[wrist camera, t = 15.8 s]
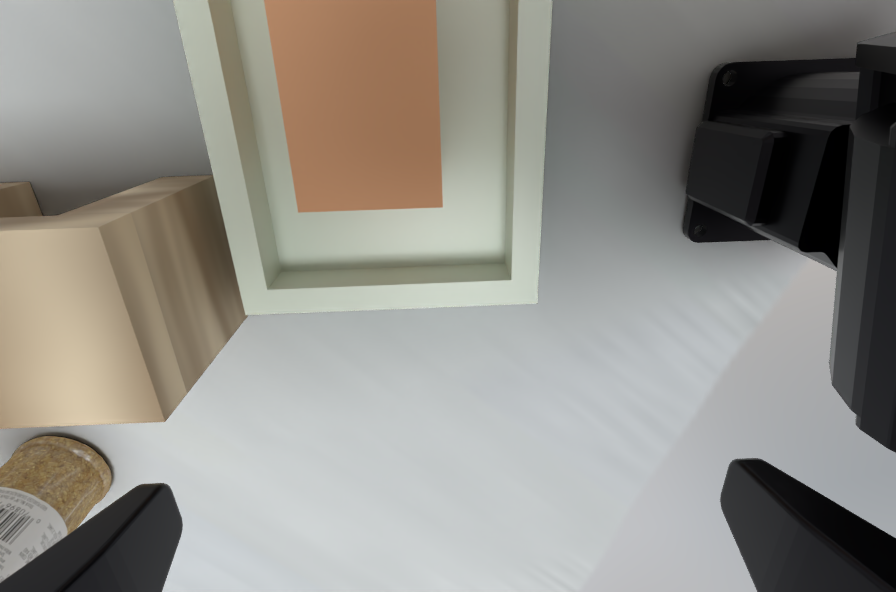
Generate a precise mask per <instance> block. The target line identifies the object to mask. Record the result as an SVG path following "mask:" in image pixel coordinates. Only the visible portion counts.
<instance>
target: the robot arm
mask: <svg viewBox="0 0 896 592" xmlns="http://www.w3.org/2000/svg"><path fill="white" fill-rule="evenodd" d="M727 71H729V72H730V74H731V79H730V81H729V83H728V84H727V85H724V84H723V76H724V74H725V73H726V72H727ZM686 194H687V195H688V196H689V199H688V204H687V210H686V216H685V221H684V227H683V233H684V235H685V237H687V238H688V239H690V240H691V241H693V242H697V243H702V242H728V241H754V240H773V241H775V242H777V243H779V244H781V245H783V246H786V247H788V248H790V249H792V250H794V251H796V252H798V253H800V254H802V255H804V256H806V257H808V258H810V259H813V260H815V261H817V262H819V263H821V264H823V265H825V266H827V267H829V268H831V269H833V270H835V271H837V278H836V290H835V302H834V313H833V325H832V326H833V327H832V338H831V348H830V349H831V350H830V360H829V361H830V362H829V364H830V373H831V380H832V386H833V387H834V388H835V389H836V391H837V392H838V393H839V395H840V396H841V397H842V399H843V400H844V401H845V403H846V404H847V405H848V407H849V408H850V409H851V410H852V411H853V412H854V413H855V414H856V425H857V426H858V427H859V429H860V430H862V431H863V432H865V433H866V434H868V435H869V436H870V437H872V438H874V439H875V440H876V441H878V442H879V443H881V444H882V445H883V446H885V447H886V448H888V449H890V450H892V451H894V452H896V32H894V33H890V34H886V35H883V36H879V37H875V38H872V39H868V40H864V41H861V42H858V43H857V51H856V58H846V59H817V60H788V61H759V62H731V63H723V64H720V65H719V66H717V67H716V68H715V69H714V71H713V72H712V74H711V77H710V80H709V86H708V91H707V97H706V103H705V108H704V114H703V120H702V123H701V124H700V125H699V126H698V127H697V130H696V135H695V141H694V147H693V153H692V158H691V164H690V170H689V176H688V181H687V187H686ZM701 224H702V229H701V231H700V232H698V233H696V234H694V230H695V228H696V227H697V226H698V225H701ZM720 502H721V507H722V511H723V514H724V516H725V518H726V521H727V523H728V525H729V527H730V530H731V532H732V534H733V537H734V539H735V541H736V543H737V546H738V548H739V550H740V553H741V555H742V557H743V560H744V562H745V564H746V566H747V569H748V571H749V573H750V576H751V578H752V580H753V583H754V585H755V587H756V590H757V592H896V538H894V537H892V536H891V535H889V534H887V533H886V532H884V531H882V530H880V529H879V528H877V527H876V526H874V525H872V524H871V523H869V522H867V521H866V520H864V519H862V518H860V517H859V516H857V515H855V514H854V513H852V512H850V511H849V510H847V509H845V508H844V507H842V506H840V505H838V504H837V503H835V502H833V501H831V500H830V499H828V498H827V497H825V496H823V495H822V494H820V493H818V492H816V491H815V490H813V489H811V488H810V487H808V486H806V485H805V484H803V483H801V482H800V481H798V480H796V479H794V478H793V477H791V476H789V475H788V474H786V473H784V472H783V471H781V470H779V469H777V468H776V467H774V466H772V465H771V464H769V463H767V462H766V461H763V460H762V459H758V458H746V459H735V460H733V461H732V462H731V463H730V464H729V467H728V471H727V474H726V478H725V481H724V485H723V489H722V492H721V499H720ZM182 526H183V524H182V517H181V515H180V512H179V509H178V506H177V504H176V501H175V498H174V495H173V492H172V490H171V488H170V487H169V486H168V485H167V484H164V483H155V484H142V485H139V486H136V487H135V488H133V489H132V490H130V491H129V492H128V493H126V494H125V495H123V496H122V497H121V498H119V499H118V500H116V501H115V502H113V503H112V504H111V505H109V506H108V507H106V508H105V509H104V510H102V511H101V512H99V513H98V514H96V515H95V516H94V517H92V518H91V519H89V520H88V521H87V522H85V523H84V524H82V525H81V526H80V527H78V528H77V529H75V530H74V531H72V532H71V533H70V534H68V535H67V536H65V537H64V538H63V539H61V540H60V541H58V542H57V543H55V544H54V545H53V546H51V547H50V548H48V549H47V550H46V551H44V552H43V553H41V554H40V555H39V556H37V557H36V558H34V559H33V560H31V561H30V562H29V563H27V564H26V565H24V566H23V567H22V568H20V569H19V570H17V571H16V572H14V573H13V574H12V575H10V576H9V577H7V578H6V579H5V580H3V581H2V582H0V592H162V590H163V587H164V584H165V581H166V578H167V575H168V572H169V569H170V566H171V564H172V561H173V558H174V555H175V552H176V549H177V546H178V543H179V540H180V537H181V534H182Z"/></svg>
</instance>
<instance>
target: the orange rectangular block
mask: <svg viewBox="0 0 896 592" xmlns="http://www.w3.org/2000/svg"><path fill="white" fill-rule="evenodd" d="M264 4H265V10H266V16H267V22H268V28H269V35H270V41H271V47H272V53H273V59H274V66H275V72H276V78H277V84H278V90H279V97H280V103H281V109H282V115H283V122H284V128H285V134H286V140H287V146H288V153H289V159H290V165H291V171H292V177H293V184H294V190H295V196H296V202H297V208H298V213H300V212H328V211H356V210H384V209H413V208H441V207H443V195H442V166H441V137H440V107H439V78H438V49H437V19H436V0H264Z"/></svg>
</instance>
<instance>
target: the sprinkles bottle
mask: <svg viewBox="0 0 896 592" xmlns="http://www.w3.org/2000/svg"><path fill="white" fill-rule="evenodd" d="M110 485H111V471H110V469H109V467H108V465H107V464H106V463H105V461H104V460H103V458H102V457H101V456H100V455H98V454H97V453H96V452H95V451H94V450H93V449H92V448H90V447H89V446H87V445H85V444H82V443H80V442H78V441H75V440H72V439H68V438H64V437H56V436H43V437H38V438H35V439H32V440H30V441H28V442H26V443H24V444H22V445H21V446H20V447H18V448H17V450H16V451H15V452H14V453H13V455H12V457H11V459H10V460H9V461H8V462H7V463H5V464H4V465H3V466H2V467H1V468H0V582H2V581H3V580H5V579H6V578H7V577H9V576H10V575H12V574H13V573H14V572H16V571H17V570H19V569H20V568H22V567H23V566H24V565H26V564H27V563H29V562H30V561H31V560H33V559H34V558H36V557H37V556H39V555H40V554H41V553H43V552H44V551H46V550H47V549H48V548H50V547H51V546H53V545H54V544H55V543H57V542H58V541H60V540H61V539H63V538H64V537H65V536H67V535H68V534H70V533H71V532H72V531H74V530H75V529H76V528H77V527H78V526H79V525H80V524H81V522H82V521H83V520H84V518H85V517H86V516H87V514H88V513H89V512H90V510H91V509H92V508H93V506H94V505H95V504H97V503H98V502H100V501H101V500H102V499H103V498H104V497H105V495H106V493H107V492H108V491H109V489H110Z"/></svg>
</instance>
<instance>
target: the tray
mask: <svg viewBox="0 0 896 592" xmlns="http://www.w3.org/2000/svg"><path fill="white" fill-rule="evenodd" d="M173 4H174V8H175V12H176V17H177V21H178V25H179V30H180V34H181V38H182V43H183V47H184V51H185V56H186V60H187V64H188V69H189V73H190V77H191V82H192V86H193V90H194V95H195V99H196V103H197V108H198V112H199V116H200V121H201V125H202V129H203V134H204V138H205V142H206V147H207V151H208V155H209V160H210V164H211V168H212V173H213V177H214V181H215V186H216V190H217V194H218V199H219V203H220V207H221V212H222V216H223V220H224V225H225V229H226V233H227V238H228V242H229V246H230V251H231V255H232V259H233V264H234V268H235V272H236V277H237V281H238V285H239V290H240V294H241V298H242V303H243V307H244V311H245V315H264V314H289V313H314V312H339V311H364V310H389V309H414V308H439V307H464V306H489V305H514V304H537V299H538V279H539V260H540V240H541V220H542V200H543V180H544V160H545V140H546V120H547V100H548V80H549V60H550V40H551V20H552V0H436V19H437V49H438V78H439V107H440V137H441V166H442V195H443V207H441V208H413V209H384V210H356V211H328V212H300V213H298V208H297V202H296V196H295V190H294V184H293V177H292V171H291V165H290V159H289V153H288V146H287V140H286V134H285V128H284V122H283V115H282V109H281V103H280V97H279V90H278V84H277V78H276V72H275V66H274V59H273V53H272V47H271V41H270V35H269V28H268V22H267V16H266V10H265V4H264V0H173Z"/></svg>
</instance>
